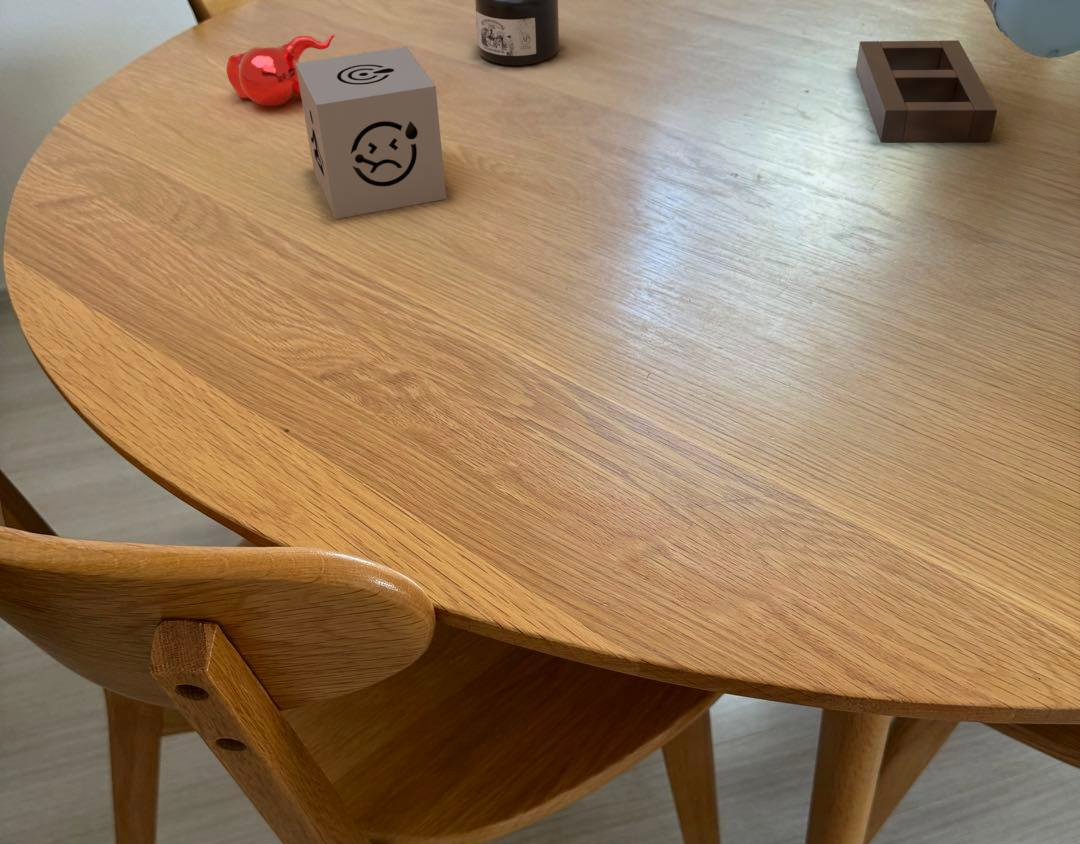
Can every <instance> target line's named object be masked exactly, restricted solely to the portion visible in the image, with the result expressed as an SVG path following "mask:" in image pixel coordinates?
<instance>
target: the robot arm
mask: <svg viewBox="0 0 1080 844" xmlns="http://www.w3.org/2000/svg"><path fill="white" fill-rule="evenodd" d="M983 2H984V3H985V4H986V5H987V7H988V8H989V10H990V12H991V14H992V17H993V19H994V22H995V25H996V27H997V29H998V30H999V31H1000V32H1001V33H1003V36H1005V37H1006V38H1008V39H1009V41H1011V42H1012V43H1013V44H1014V45H1015V46H1016V47H1018V48H1019V49H1020V50H1021V51H1023V52H1024V53H1027V54H1029V55H1031V56H1034V57H1038V58H1045V59H1053V58H1061V57H1066V56H1070V55H1072V54H1074V53H1076V52H1079V51H1080V0H983Z"/></svg>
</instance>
